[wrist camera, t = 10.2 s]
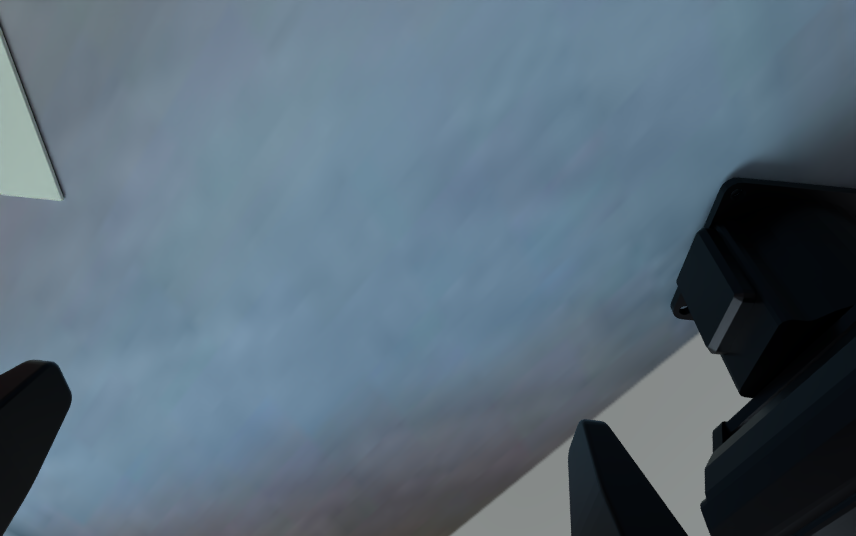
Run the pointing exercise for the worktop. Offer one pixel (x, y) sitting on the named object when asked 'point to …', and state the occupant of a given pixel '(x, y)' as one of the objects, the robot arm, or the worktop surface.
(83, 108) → the worktop surface
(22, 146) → the mat
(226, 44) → the worktop surface
